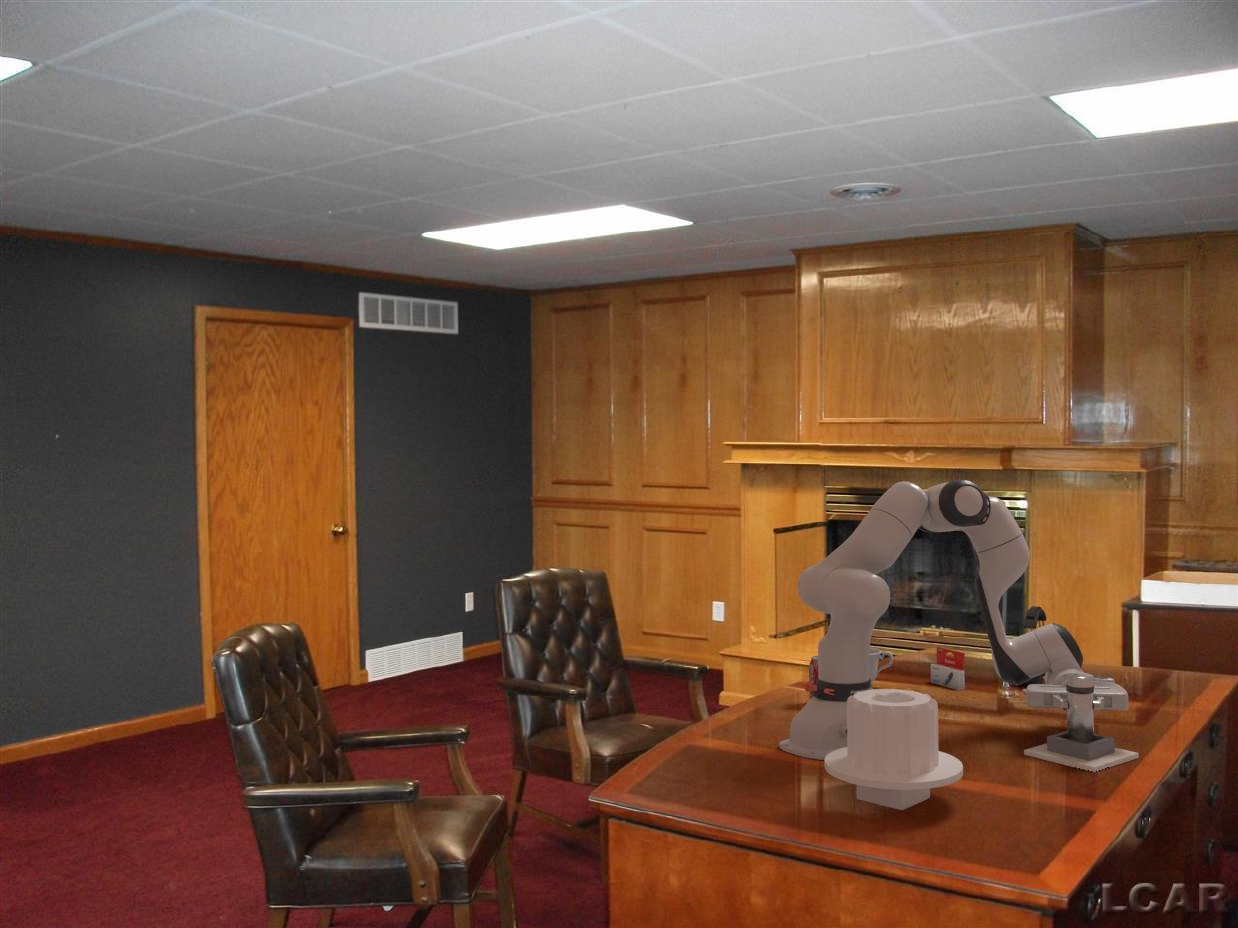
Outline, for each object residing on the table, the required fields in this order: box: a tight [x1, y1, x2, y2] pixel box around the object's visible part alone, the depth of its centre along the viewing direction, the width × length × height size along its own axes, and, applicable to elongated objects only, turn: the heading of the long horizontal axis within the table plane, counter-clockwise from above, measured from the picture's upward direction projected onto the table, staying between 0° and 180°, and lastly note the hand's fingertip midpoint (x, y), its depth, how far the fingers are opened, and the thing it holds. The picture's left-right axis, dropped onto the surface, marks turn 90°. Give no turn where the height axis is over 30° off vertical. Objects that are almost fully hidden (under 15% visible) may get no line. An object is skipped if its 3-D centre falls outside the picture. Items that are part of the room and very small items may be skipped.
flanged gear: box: [824, 688, 964, 811], centre depth 205 cm, size 25×25×19 cm
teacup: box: [869, 646, 894, 683], centre depth 298 cm, size 12×15×10 cm
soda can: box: [808, 655, 818, 701], centre depth 279 cm, size 7×7×12 cm
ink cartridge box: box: [930, 646, 966, 691], centre depth 298 cm, size 2×11×10 cm, turn 25°
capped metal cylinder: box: [1066, 674, 1095, 744], centre depth 230 cm, size 5×5×14 cm
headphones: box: [1021, 606, 1047, 686], centre depth 304 cm, size 22×6×20 cm, turn 148°
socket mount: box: [1023, 730, 1140, 773], centre depth 230 cm, size 16×16×4 cm
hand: (1080, 705), depth 229 cm, fingers closed on capped metal cylinder, 5 cm apart
